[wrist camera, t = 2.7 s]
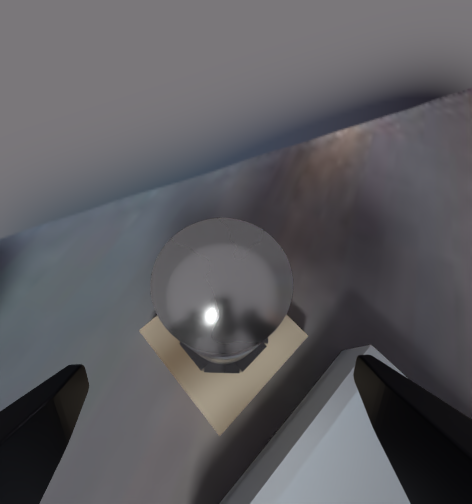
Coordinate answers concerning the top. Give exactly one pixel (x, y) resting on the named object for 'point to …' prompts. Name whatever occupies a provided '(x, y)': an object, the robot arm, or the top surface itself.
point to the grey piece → (222, 291)
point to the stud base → (224, 384)
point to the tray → (324, 449)
